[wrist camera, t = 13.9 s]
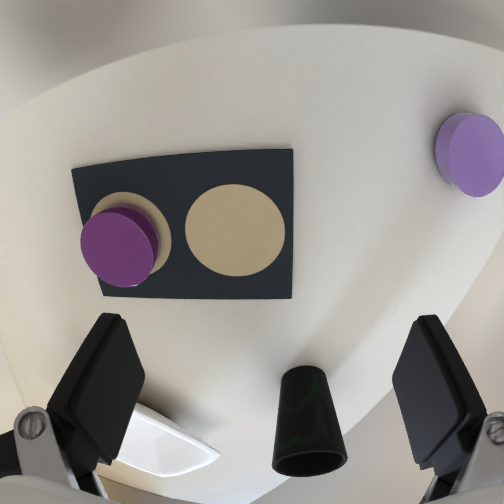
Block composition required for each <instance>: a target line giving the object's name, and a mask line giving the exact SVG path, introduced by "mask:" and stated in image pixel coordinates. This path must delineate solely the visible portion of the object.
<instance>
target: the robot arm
mask: <svg viewBox="0 0 504 504" xmlns="http://www.w3.org/2000/svg"><path fill="white" fill-rule="evenodd" d="M144 380H145V373H144V370H143V367H142V365H141V362H140V359H139V357H138V354H137V352H136V349H135V346H134V344H133V341H132V338H131V335H130V332H129V329H128V327H127V324H126V321H125V320H124V319H122V318H121V316H120V315H119V314H113V313H102V314H101V315H100V316H99V318H98V319H97V321H96V323H95V324H94V326H93V327H92V329H91V330H90V332H89V334H88V335H87V337H86V338H85V340H84V342H83V343H82V345H81V347H80V348H79V350H78V351H77V353H76V355H75V356H74V358H73V360H72V362H71V363H70V365H69V367H68V368H67V370H66V372H65V374H64V375H63V377H62V379H61V381H60V382H59V384H58V386H57V388H56V389H55V391H54V393H53V395H52V397H51V399H50V400H49V402H48V404H47V408H46V410H44V409H43V408H41V407H37V406H32V407H28V408H26V409H24V410H22V411H21V412H20V413H19V414H18V416H17V417H16V419H15V422H14V430H11V431H9V432H7V433H4V434H1V435H0V504H123V503H119V502H115V501H112V500H109V498H108V496H107V494H106V492H105V490H104V488H103V485H102V483H101V481H100V479H99V476H98V474H97V472H96V470H95V469H96V466H97V463H98V462H99V463H103V464H106V465H109V466H111V463H112V460H115V459H116V458H117V457H118V454H119V451H120V448H121V445H122V442H123V439H124V436H125V433H126V430H127V428H128V425H129V422H130V419H131V416H132V413H133V411H134V408H135V405H136V402H137V399H138V397H139V394H140V391H141V389H142V386H143V383H144ZM392 383H393V386H394V390H395V392H396V396H397V399H398V403H399V406H400V409H401V413H402V416H403V420H404V423H405V427H406V431H407V434H408V438H409V442H410V446H411V450H412V453H413V458H414V461H415V463H416V464H419V466H420V470H424V469H428V468H431V467H433V468H434V472H435V476H434V478H433V480H432V481H431V484H430V485H429V487H428V489H427V491H426V493H425V495H424V496H423V498H422V500H421V502H420V503H419V504H504V412H500V411H499V412H493V413H491V414H489V415H488V414H487V412H486V408H485V405H484V403H483V401H482V399H481V397H480V395H479V392H478V390H477V388H476V386H475V384H474V382H473V380H472V378H471V376H470V374H469V372H468V370H467V368H466V366H465V365H464V362H463V361H462V359H461V357H460V355H459V353H458V351H457V349H456V348H455V346H454V344H453V342H452V340H451V339H450V337H449V335H448V333H447V331H446V330H445V328H444V326H443V325H442V323H441V321H440V320H439V318H438V316H437V315H435V314H434V315H422V316H419V317H418V319H417V320H416V321H414V322H413V324H412V327H411V330H410V332H409V335H408V338H407V340H406V343H405V346H404V348H403V351H402V353H401V356H400V358H399V361H398V363H397V365H396V368H395V370H394V372H393V376H392Z"/></svg>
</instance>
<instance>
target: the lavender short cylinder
mask: <svg viewBox="0 0 504 504" xmlns="http://www.w3.org/2000/svg"><path fill="white" fill-rule="evenodd" d="M435 155H436V161H437V165H438V168H439V170H440V173H441V174H442V176H443V177H444V179H445V180H446V181H447V182H448V183H449V184H450V185H452V186H454V187H455V188H457V189H459V190H460V191H462V192H464V193H465V194H467V195H469V196H473V197H482V196H485V195H487V194H489V193H491V192H492V191H493V190H494V189H495V188H496V187H497V186H498V185H499V184H500V182H501V180H502V178H503V176H504V135H503V133H502V131H501V129H500V128H499V126H498V125H497V124H496V123H495V122H494V121H493V120H492V119H490V118H489V117H487V116H484V115H479V114H473V113H467V112H460V113H456V114H454V115H452V116H450V117H449V118H448V119H447V120H446V121H445V122H444V123H443V125H442V126H441V128H440V130H439V132H438V135H437V139H436V146H435Z"/></svg>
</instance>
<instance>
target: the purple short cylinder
mask: <svg viewBox="0 0 504 504" xmlns="http://www.w3.org/2000/svg"><path fill="white" fill-rule="evenodd" d="M81 250H82V254H83V257H84V259H85V261H86V263H87V264H88V266H89V267H90V269H91V270H92V271H93V272H94V273H95V274H96V275H97V276H98V277H99V278H100V279H102V280H103V281H105V282H107V283H109V284H111V285H114V286H118V287H132V286H135V285H138V284H140V283H142V282H143V281H144V280H145V279H146V278H147V277H148V276H149V274H150V273H151V271H152V269H153V268H154V266H155V264H156V263H157V261H158V259H159V257H160V254H161V238H160V234H159V231H158V229H157V227H156V225H155V223H154V222H153V220H152V219H151V218H150V217H149V216H148V215H147V214H146V213H145V212H144V211H142V210H141V209H139V208H137V207H136V206H133V205H130V204H126V203H114V204H111V205H108V206H106V207H104V208H103V209H102V210H100V211H99V212H98V213H96V214H95V215H94V216H93V217H91V218H90V219H89V220H88V221H87V222H86V224H85V225H84V227H83V230H82V233H81Z"/></svg>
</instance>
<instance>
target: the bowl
mask: <svg viewBox="0 0 504 504" xmlns="http://www.w3.org/2000/svg"><path fill="white" fill-rule="evenodd" d="M220 455H221V452H219V451H218V450H216V449H215V448H213V447H212V446H210V445H209V444H207V443H206V442H204V441H203V440H201V439H200V438H199V437H197V436H195V435H194V434H192V433H190V432H189V431H187V430H186V429H184V428H182V427H180V426H179V425H177V424H175V423H174V422H172V421H171V420H169V419H168V418H166V417H164V416H163V415H161V414H159V413H157V412H156V411H154V410H152V409H150V408H148V407H146V406H143V405H141V404H139V403H137V402H136V405H135V408H134V411H133V413H132V416H131V419H130V422H129V425H128V428H127V430H126V433H125V436H124V439H123V442H122V445H121V448H120V451H119V454H118V457H117V458H116V459H117V460H119V461H121V462H123V463H126V464H128V465H130V466H133V467H135V468H138V469H140V470H143V471H146V472H149V473H152V474H155V475H158V476H162V477H165V476H176V475H180V474H184V473H187V472H190V471H193V470H195V469H198V468H201V467H203V466H206V465H208V464H211V463H212V462H213V461H215V460H216V459H217V458H218V457H219V456H220Z"/></svg>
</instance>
